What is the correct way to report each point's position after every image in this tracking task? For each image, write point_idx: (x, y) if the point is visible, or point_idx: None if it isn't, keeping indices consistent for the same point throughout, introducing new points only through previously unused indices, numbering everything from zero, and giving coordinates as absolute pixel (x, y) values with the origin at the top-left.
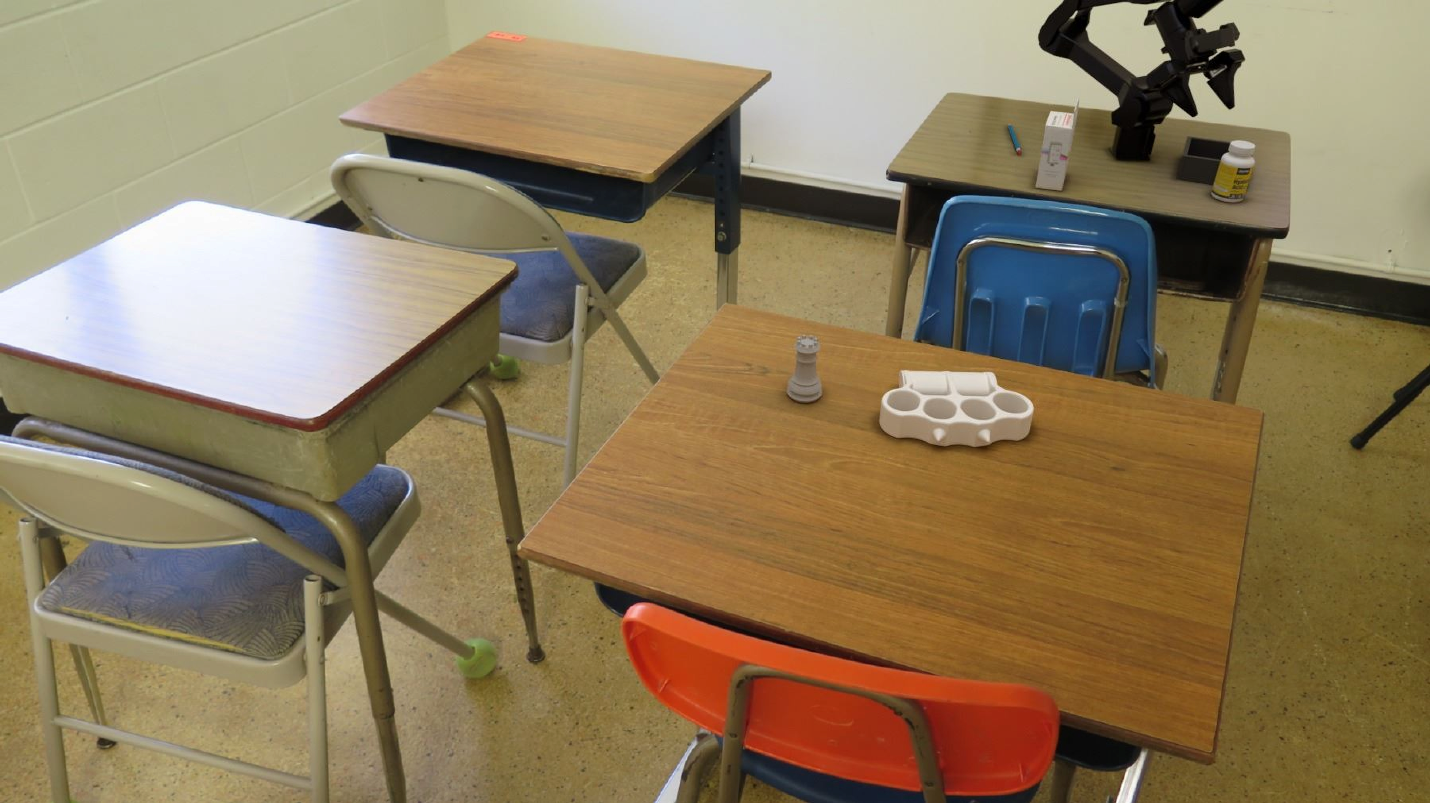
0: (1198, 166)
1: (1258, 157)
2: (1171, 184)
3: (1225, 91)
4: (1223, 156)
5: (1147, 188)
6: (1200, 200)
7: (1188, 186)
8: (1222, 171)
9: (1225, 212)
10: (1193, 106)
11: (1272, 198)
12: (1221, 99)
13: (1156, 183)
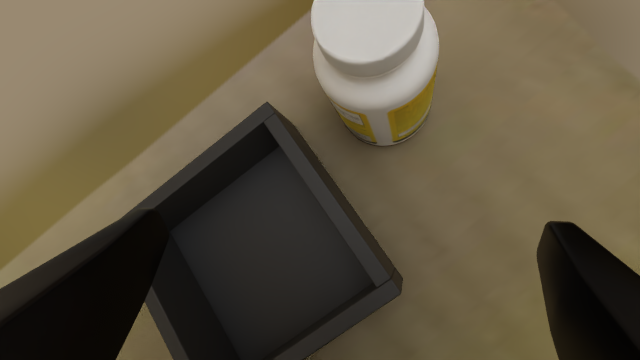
0: (365, 234)
1: None
2: (453, 257)
3: (58, 336)
4: (417, 81)
5: None
6: (476, 122)
7: (416, 218)
8: (435, 73)
9: (482, 27)
10: (635, 273)
11: (280, 52)
12: (122, 330)
13: (494, 290)
